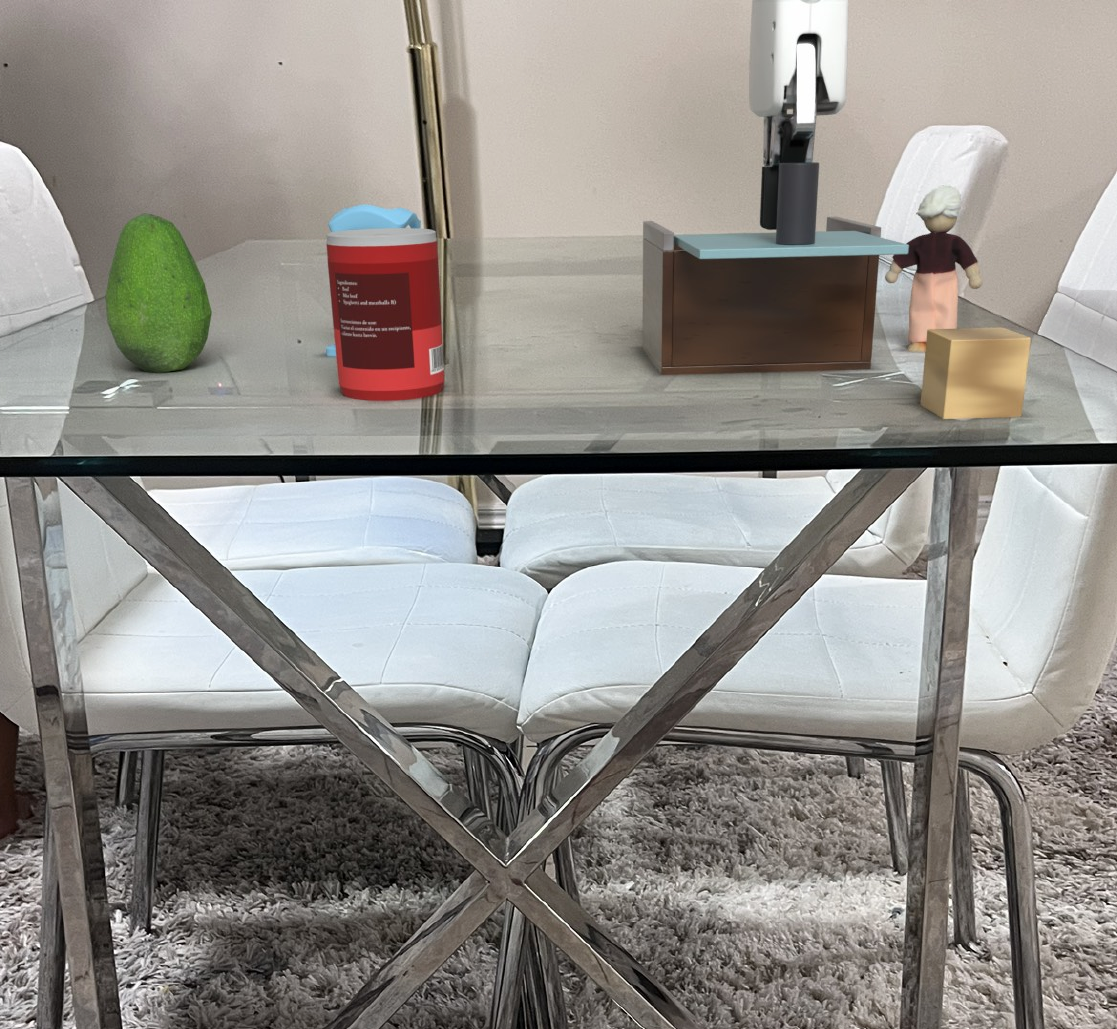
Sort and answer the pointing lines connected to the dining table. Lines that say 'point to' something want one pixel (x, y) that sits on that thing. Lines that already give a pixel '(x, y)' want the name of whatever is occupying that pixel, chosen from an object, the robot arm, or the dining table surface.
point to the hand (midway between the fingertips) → (784, 228)
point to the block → (975, 372)
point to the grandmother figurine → (935, 267)
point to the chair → (370, 225)
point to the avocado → (156, 297)
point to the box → (757, 309)
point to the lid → (791, 228)
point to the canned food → (386, 313)
